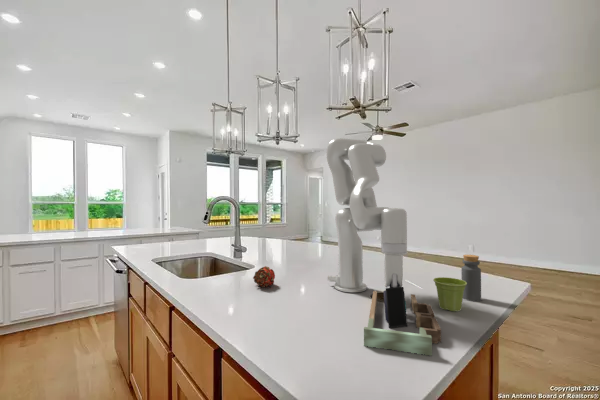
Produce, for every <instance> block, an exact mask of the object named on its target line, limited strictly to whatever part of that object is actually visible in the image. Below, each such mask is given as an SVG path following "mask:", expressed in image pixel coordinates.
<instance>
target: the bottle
mask: <svg viewBox="0 0 600 400" xmlns="http://www.w3.org/2000/svg"><path fill="white" fill-rule="evenodd" d="M479 258H480V256H479V255H476V254H463V259H462V264H463V265H464V266H461V271H460V272H461V280H463V281H465V282H466V283H467V285H465V289H464V293H463V300H465V301H470V302H480V301H482V269H481V268H480V267H479V265H480V261H479Z"/></svg>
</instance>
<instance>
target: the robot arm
mask: <svg viewBox="0 0 600 400" xmlns="http://www.w3.org/2000/svg"><path fill="white" fill-rule="evenodd" d="M326 160H327V161H326V162H327V165H328V168H329V169H330V172H331V175H332V176H331V177H332V182H333V187H334V195H335V198H336V199H335V200H336V202H337V203H338V205H341V206H349V207H344V208H341V209H339V210H338V211H337V212H336V214H335V226H336V231H337V232H336V233H337V248H338V249H337V260H338V261H337V262H338V264H337V265H338V267H337V270H338V271H337V272H338V274H337V275H335V276H333V275H327V281H329V282H331V283H334V288H335V290H337V291H340V292H343V293H344V292H345V293H352V294H353V293H354V294H355V293H361V292H364V291H365V292H366V290H367V289H368V285H367V284H366V283H364V281H363V278H364V277H363V275H364V274H363V273H364V270H363V268H364V267H363V263H364V261H363V259H364V257H363V256H364V255H363V241H362V239H361V237H360V235H359V234H358V233H359V232H373V231H377V230H378V231H380V238H381V240H380V241H381V242H380V243H381V246H380V247H381V249H380V250H381V252H380V253H382V254H384V266H383V267H384V269H383V270H384V287H385V288H395V287H403V275H404V256H405V255H407V254H408V217H407V216H408V215H407V211H406V209H404V208H401V207H398V208H396V207H394V208H393V207H385V206H384V207H383V206H381V207H380V206H377V200H376V195H375V191H374V189H373V187H374V186H376V185H377V184H378V183H379V182H380V175H379V173H378V170H377V168H378V167H382V166H384V164H385V163H386V160H387V152H386V150H385V148H384V147H383V146H382V145H380V144H377V143H374V142H372V141H368V140H364V139H354V138H344V137H343V138H334V139H332V140H330V141H329V143H328V144H327V148H326ZM345 160H347V161H348V162H349V164H348V163H347V162H346V161H345Z"/></svg>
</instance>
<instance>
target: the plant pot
mask: <svg viewBox="0 0 600 400" xmlns="http://www.w3.org/2000/svg"><path fill="white" fill-rule="evenodd" d="M433 282H434V285H435V287H436V293H437V298H438V305H439V308H440V309H442V310H448V311H449V312H460V311H461V310H462V307H463V300H464V299H463V293H464V289H465V285H467V283H466V282H465V281H463V280H462V279H459V278H455V277H447V276H446V277H444V276H443V277H442V276H440V277H434V278H433Z"/></svg>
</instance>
